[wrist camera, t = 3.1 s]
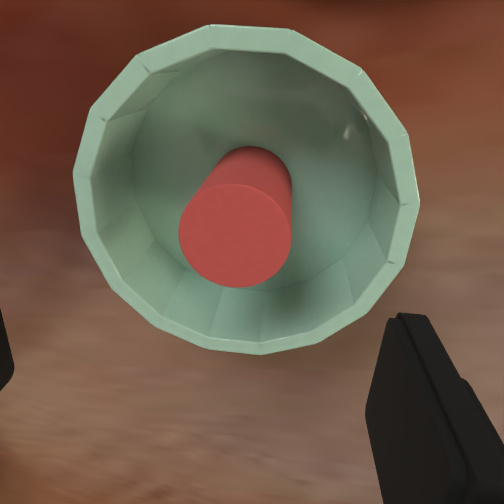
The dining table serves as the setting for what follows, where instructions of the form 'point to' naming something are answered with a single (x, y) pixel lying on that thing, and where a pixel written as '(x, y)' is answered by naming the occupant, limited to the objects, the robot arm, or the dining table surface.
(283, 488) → the dining table surface
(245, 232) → the red cylinder
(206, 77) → the pot
